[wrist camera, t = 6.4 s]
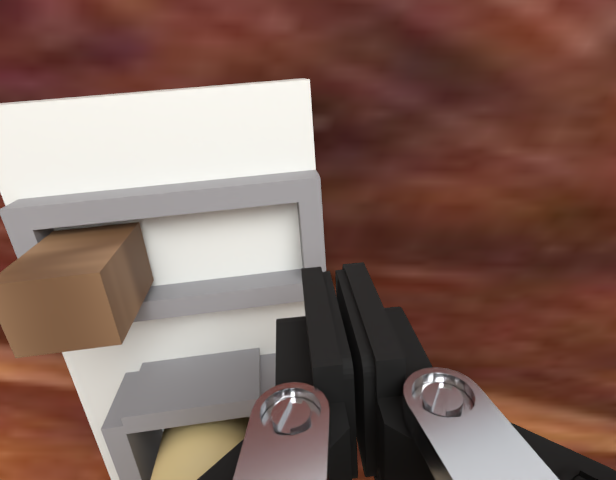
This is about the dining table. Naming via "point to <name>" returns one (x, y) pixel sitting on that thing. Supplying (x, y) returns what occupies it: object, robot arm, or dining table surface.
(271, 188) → the board
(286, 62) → the dining table surface
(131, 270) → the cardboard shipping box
